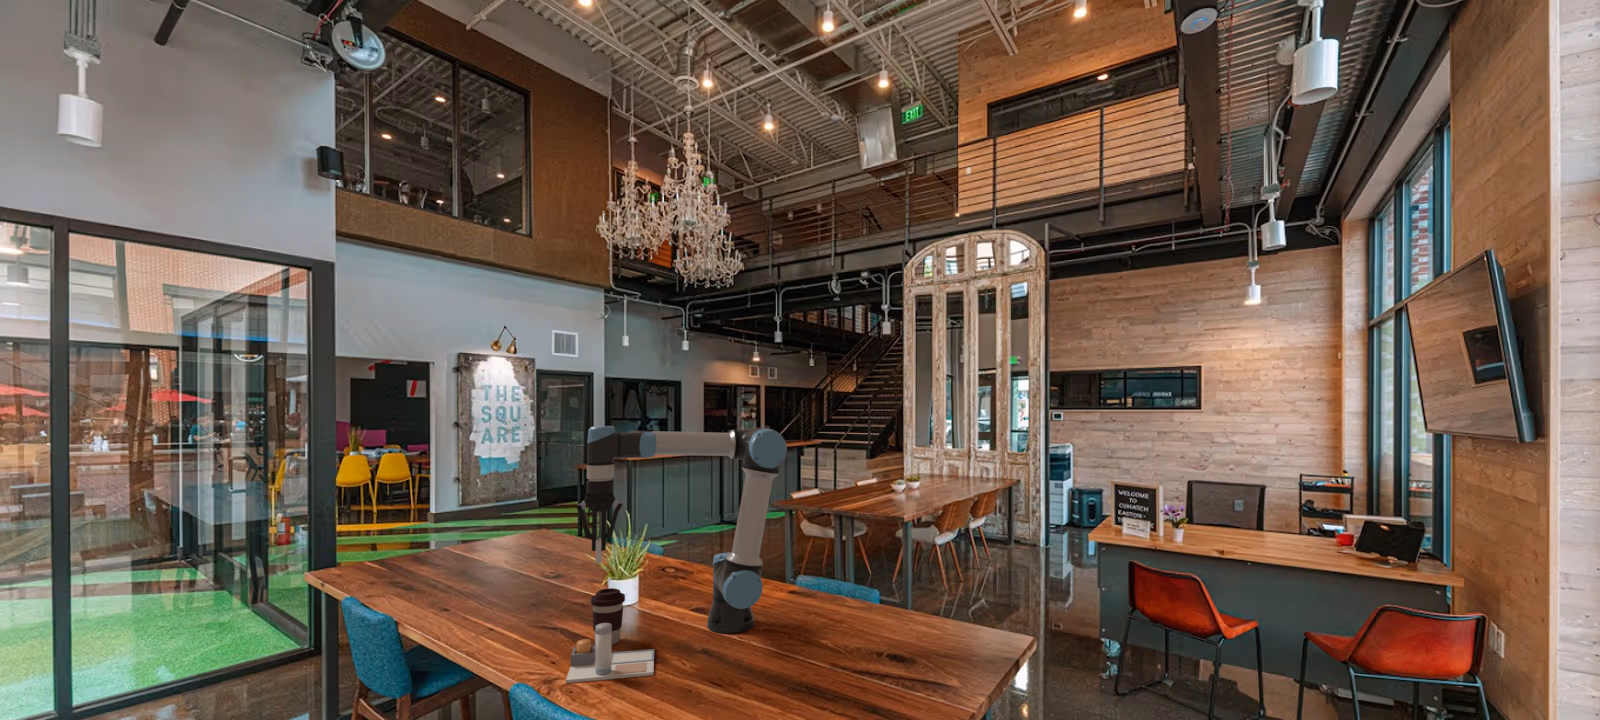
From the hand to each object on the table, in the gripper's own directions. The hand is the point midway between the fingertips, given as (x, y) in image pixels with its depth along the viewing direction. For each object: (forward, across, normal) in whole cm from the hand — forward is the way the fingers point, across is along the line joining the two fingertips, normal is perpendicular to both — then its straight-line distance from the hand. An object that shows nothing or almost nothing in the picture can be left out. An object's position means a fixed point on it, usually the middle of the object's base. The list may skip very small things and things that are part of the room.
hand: (598, 562), depth 178 cm
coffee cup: (+27, -2, -11) cm, 29 cm away
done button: (+25, +3, +5) cm, 26 cm away
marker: (+26, -3, +13) cm, 29 cm away
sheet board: (+26, -5, +8) cm, 28 cm away
